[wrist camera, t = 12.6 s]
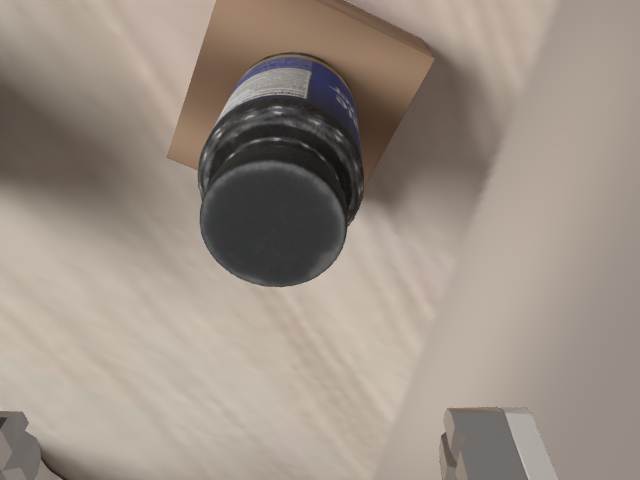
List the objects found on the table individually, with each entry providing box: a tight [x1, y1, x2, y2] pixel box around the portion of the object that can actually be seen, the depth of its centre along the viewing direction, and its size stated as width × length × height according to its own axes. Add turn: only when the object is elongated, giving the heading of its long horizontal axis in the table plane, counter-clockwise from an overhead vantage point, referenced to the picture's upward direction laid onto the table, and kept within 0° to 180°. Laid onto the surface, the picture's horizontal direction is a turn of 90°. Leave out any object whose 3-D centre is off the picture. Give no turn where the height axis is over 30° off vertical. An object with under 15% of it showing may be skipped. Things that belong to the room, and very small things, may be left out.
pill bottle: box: [198, 52, 364, 287], centre depth 21 cm, size 6×6×11 cm
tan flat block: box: [167, 0, 435, 186], centre depth 28 cm, size 10×10×4 cm
